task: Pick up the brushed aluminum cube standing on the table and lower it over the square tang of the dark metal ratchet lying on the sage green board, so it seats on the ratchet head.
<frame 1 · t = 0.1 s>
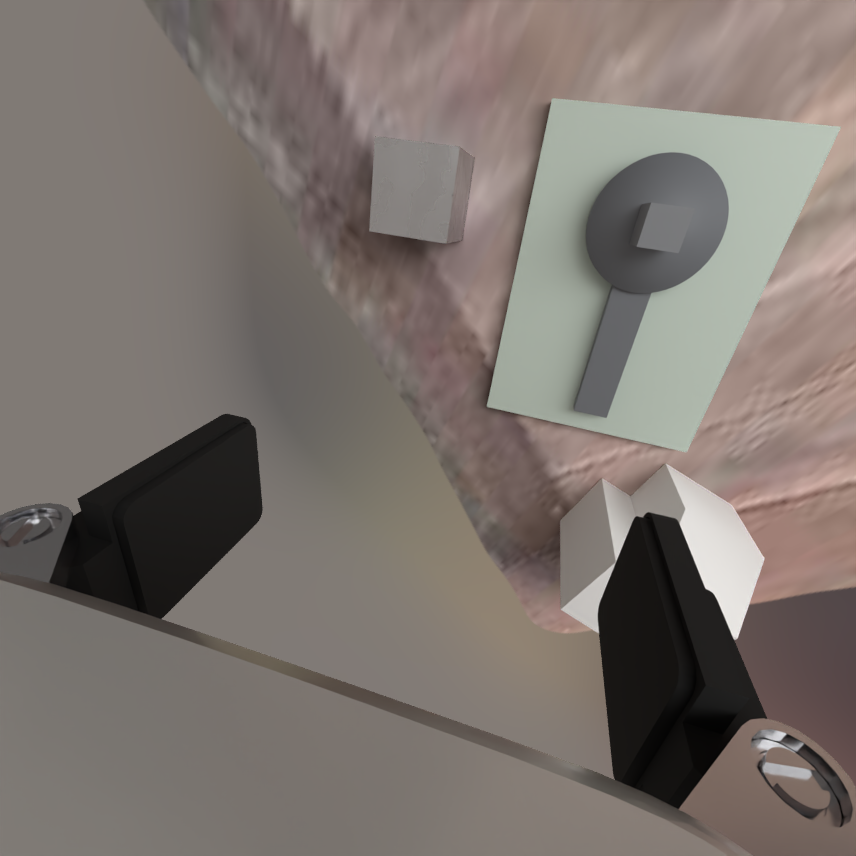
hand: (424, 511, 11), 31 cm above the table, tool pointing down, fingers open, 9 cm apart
brushed aluminum cube: (432, 195, 36), on the table
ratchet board: (625, 293, 35), on the table
corner bracket: (640, 512, 43), on the table
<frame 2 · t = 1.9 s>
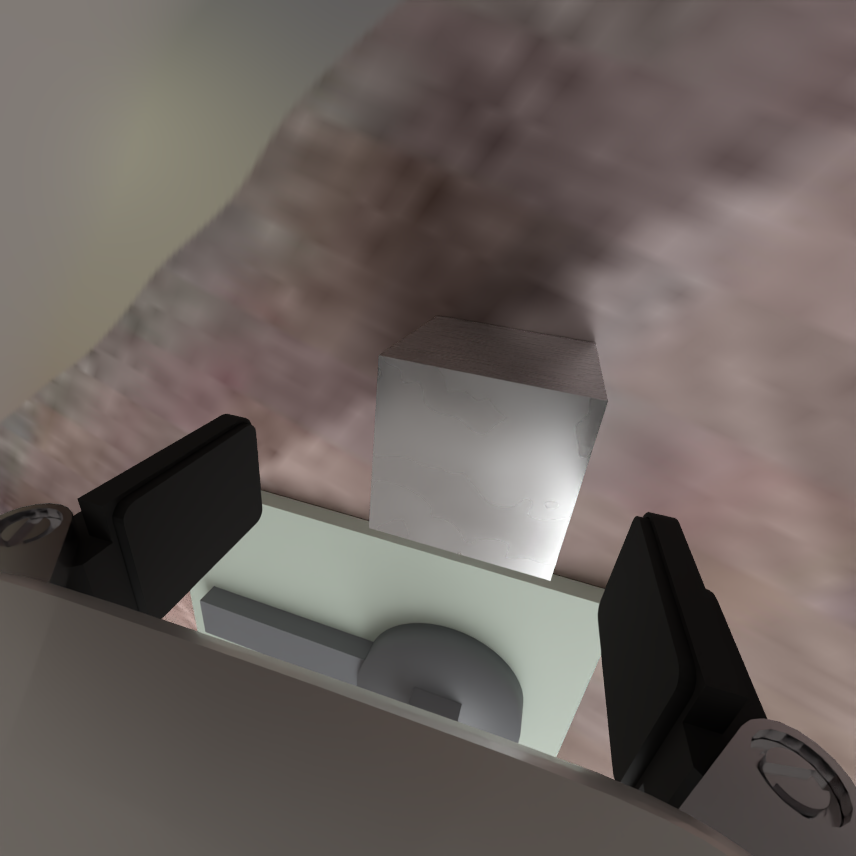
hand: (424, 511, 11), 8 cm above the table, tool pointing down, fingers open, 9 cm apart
brushed aluminum cube: (499, 401, 18), on the table
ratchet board: (367, 639, 26), on the table
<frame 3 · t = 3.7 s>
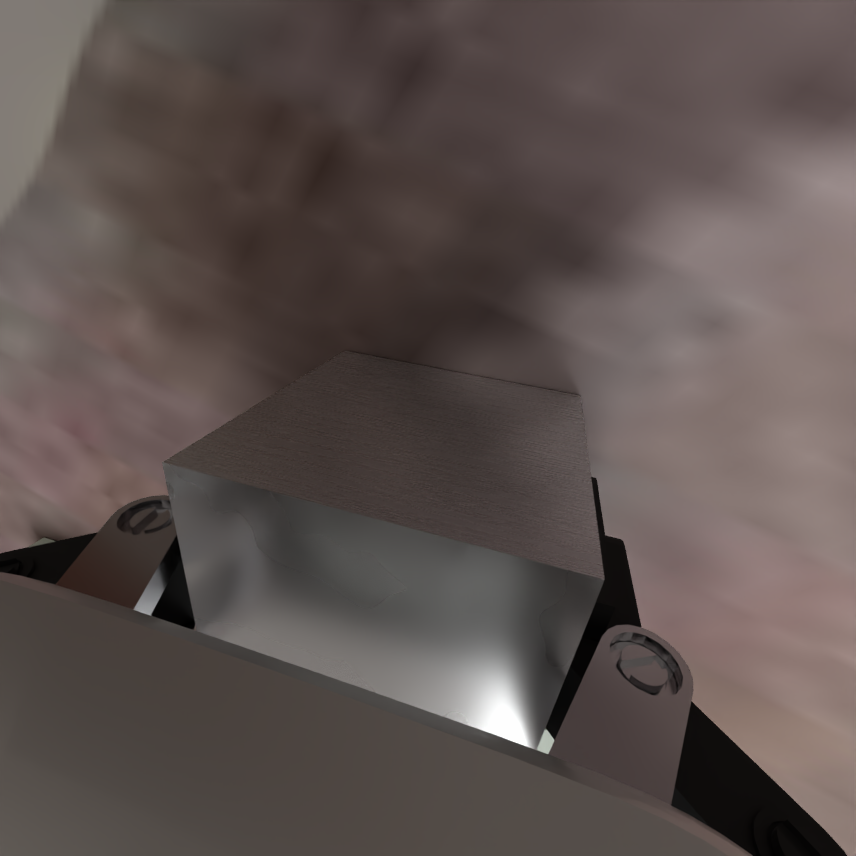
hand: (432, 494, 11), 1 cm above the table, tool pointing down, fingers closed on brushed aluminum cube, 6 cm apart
brushed aluminum cube: (442, 473, 12), on the table, touching gripper
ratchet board: (298, 746, 21), on the table
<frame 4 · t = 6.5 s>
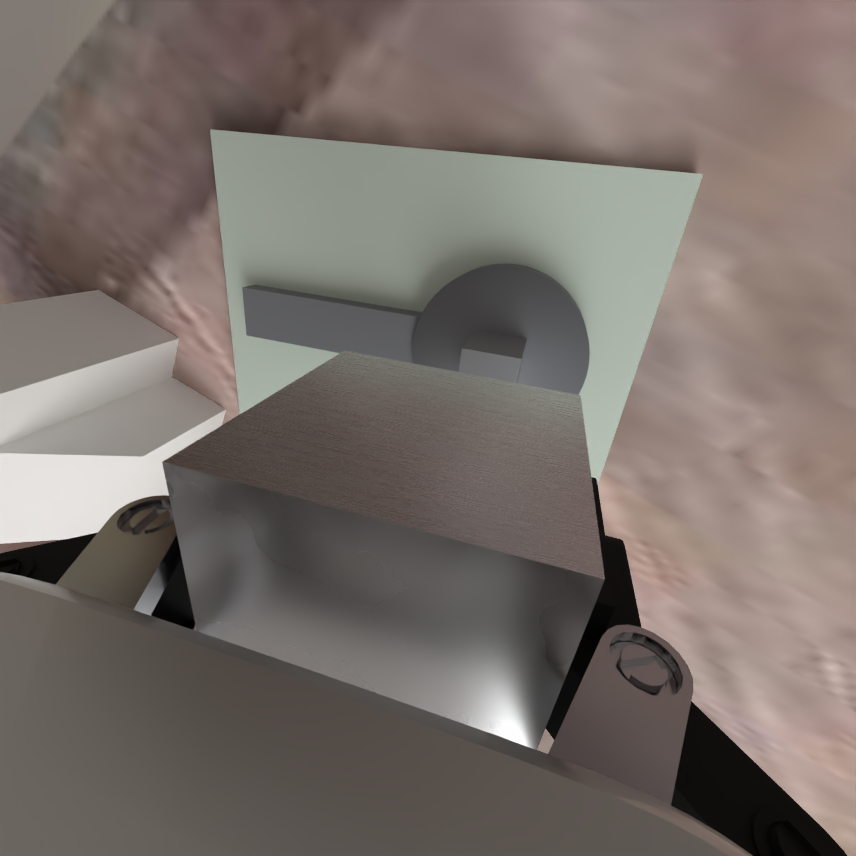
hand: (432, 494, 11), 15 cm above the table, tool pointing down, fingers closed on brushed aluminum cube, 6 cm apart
brushed aluminum cube: (442, 472, 12), point 14 cm above the table, touching gripper
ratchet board: (417, 332, 25), on the table
corner bracket: (159, 390, 33), on the table
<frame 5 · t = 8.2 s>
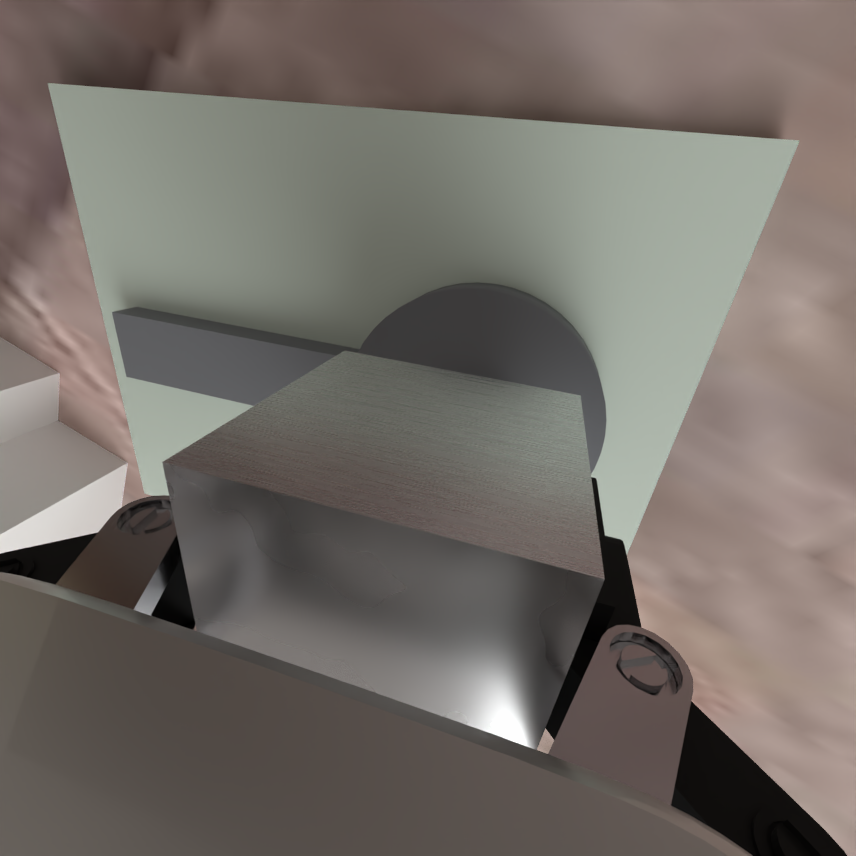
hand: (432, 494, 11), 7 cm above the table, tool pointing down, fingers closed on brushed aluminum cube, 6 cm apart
brushed aluminum cube: (442, 473, 12), point 6 cm above the table, touching gripper
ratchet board: (361, 374, 18), on the table
corner bracket: (47, 435, 26), on the table
when the fingers open (4 cm above the table, at t = 9.8 s): brushed aluminum cube stays where it is, resting on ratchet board.
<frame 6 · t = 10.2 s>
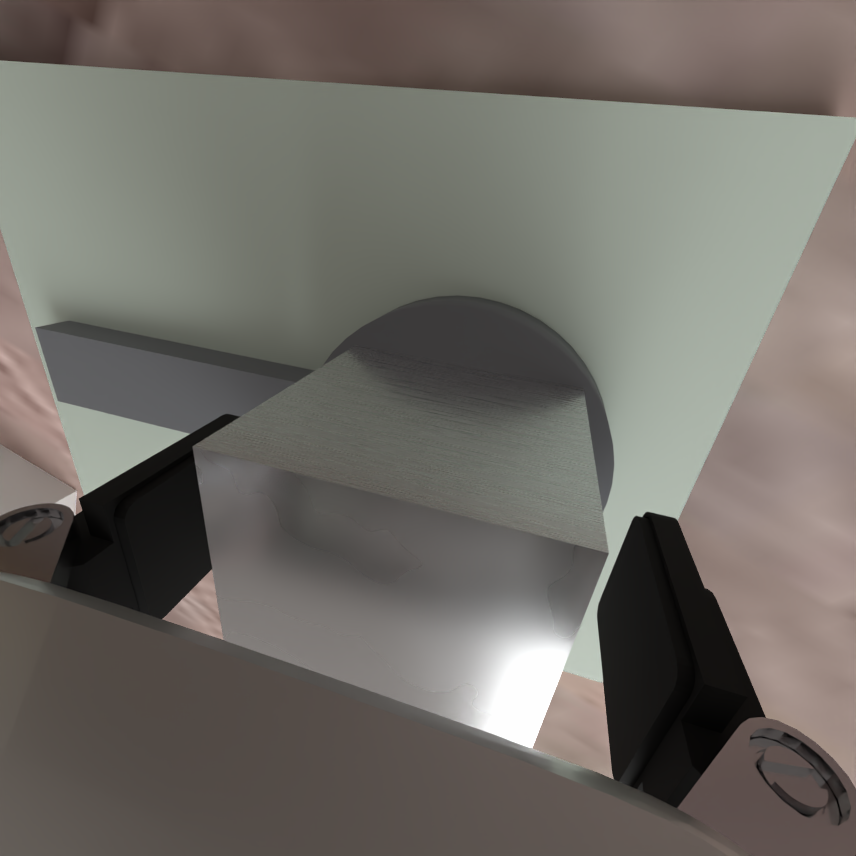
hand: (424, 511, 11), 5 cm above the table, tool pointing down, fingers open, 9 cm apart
brushed aluminum cube: (448, 464, 13), point 3 cm above the table, touching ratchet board
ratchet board: (328, 398, 16), on the table
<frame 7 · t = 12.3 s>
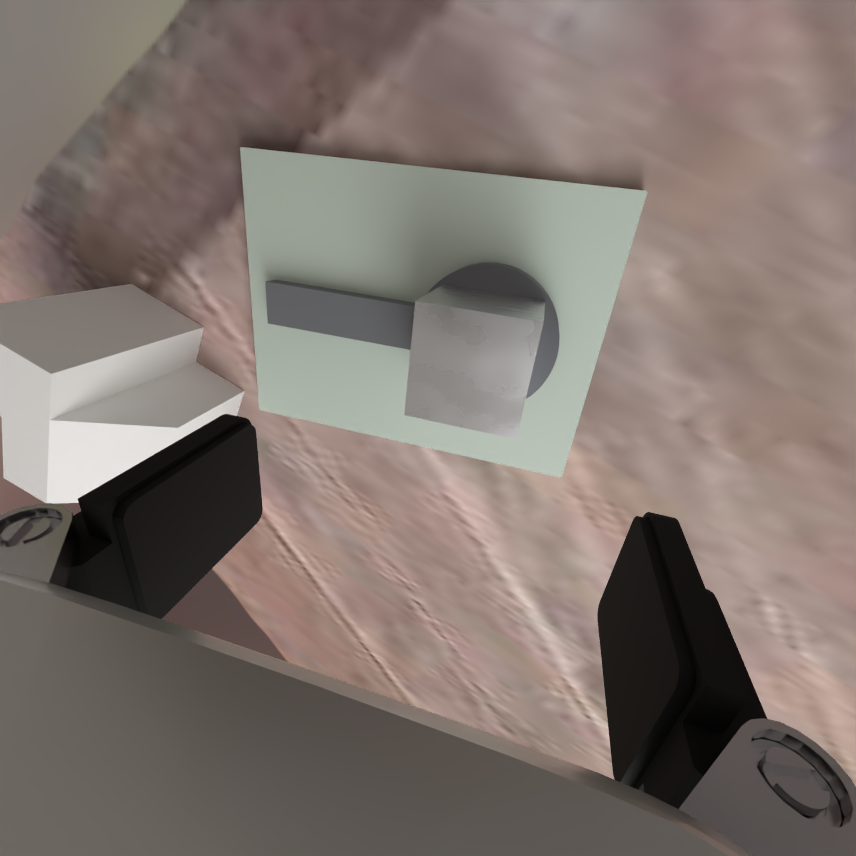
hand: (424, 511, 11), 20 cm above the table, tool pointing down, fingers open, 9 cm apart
brushed aluminum cube: (484, 342, 27), point 3 cm above the table, touching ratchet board
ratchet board: (416, 320, 30), on the table
corner bracket: (183, 374, 37), on the table
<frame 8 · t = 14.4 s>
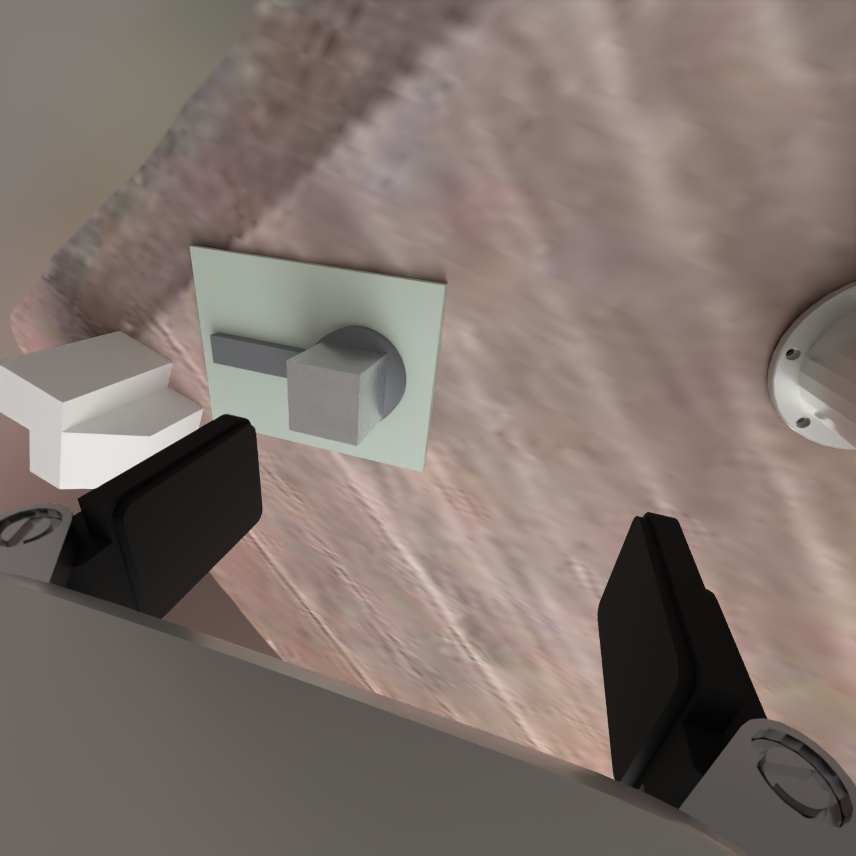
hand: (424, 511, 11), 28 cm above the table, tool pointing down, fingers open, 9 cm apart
brushed aluminum cube: (354, 379, 39), point 3 cm above the table, touching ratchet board
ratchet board: (316, 361, 42), on the table
corner bracket: (159, 395, 50), on the table
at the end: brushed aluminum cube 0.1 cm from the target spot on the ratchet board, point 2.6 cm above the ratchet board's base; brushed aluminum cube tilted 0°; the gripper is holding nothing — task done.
